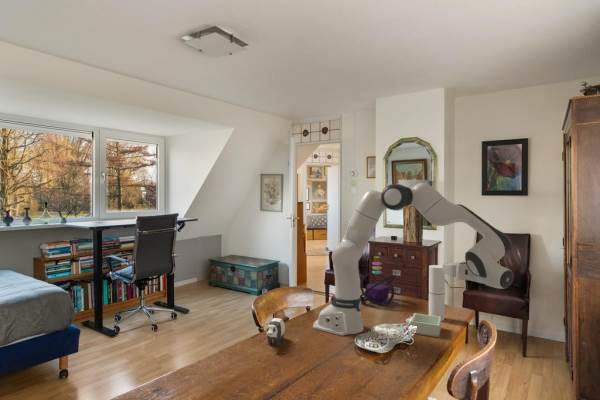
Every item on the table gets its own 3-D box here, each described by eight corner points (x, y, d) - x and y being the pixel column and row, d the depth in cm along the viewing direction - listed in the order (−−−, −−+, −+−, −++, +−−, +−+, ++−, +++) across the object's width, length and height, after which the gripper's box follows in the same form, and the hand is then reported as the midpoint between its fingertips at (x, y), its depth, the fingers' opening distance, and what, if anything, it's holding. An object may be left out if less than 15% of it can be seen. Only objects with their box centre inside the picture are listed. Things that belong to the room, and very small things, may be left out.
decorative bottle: (370, 294, 218) (370, 252, 217) (403, 301, 204) (404, 256, 204) (349, 302, 201) (349, 257, 200) (384, 311, 187) (384, 262, 187)
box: (410, 332, 159) (410, 321, 159) (414, 324, 169) (414, 313, 169) (438, 337, 154) (439, 325, 154) (440, 327, 164) (441, 316, 164)
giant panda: (272, 335, 156) (272, 313, 156) (285, 336, 155) (285, 314, 155) (262, 350, 142) (262, 325, 141) (276, 351, 140) (276, 326, 140)
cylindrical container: (425, 318, 177) (426, 266, 176) (432, 314, 182) (433, 264, 181) (440, 322, 172) (440, 268, 171) (447, 318, 177) (447, 266, 176)
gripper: (497, 261, 153) (473, 255, 167) (455, 264, 148) (434, 258, 161) (497, 276, 154) (473, 269, 167) (455, 280, 148) (434, 272, 162)
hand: (454, 264), depth 164 cm, fingers open, 8 cm apart
